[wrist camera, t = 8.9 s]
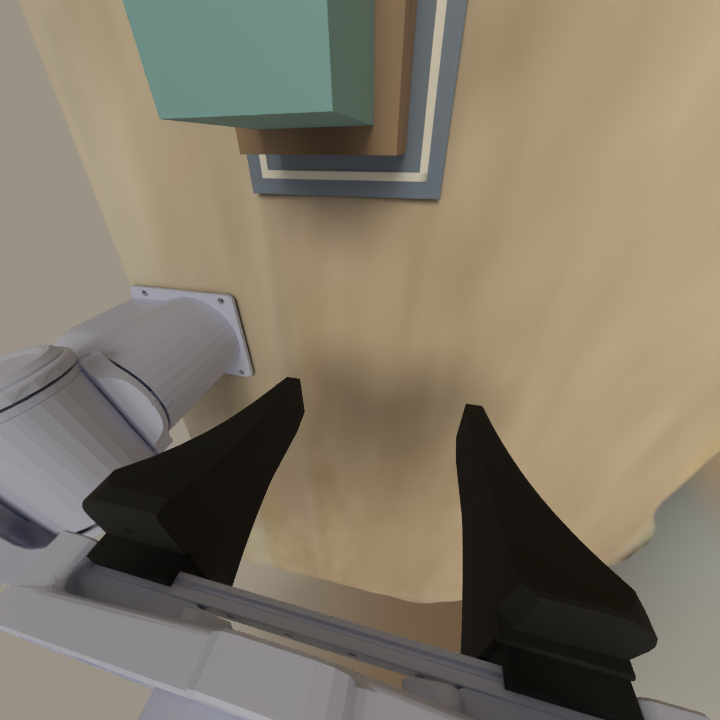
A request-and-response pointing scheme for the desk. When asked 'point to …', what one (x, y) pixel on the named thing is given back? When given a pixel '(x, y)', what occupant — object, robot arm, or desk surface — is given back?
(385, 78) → the walnut base block
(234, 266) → the desk surface
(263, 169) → the mat
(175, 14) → the teal block
